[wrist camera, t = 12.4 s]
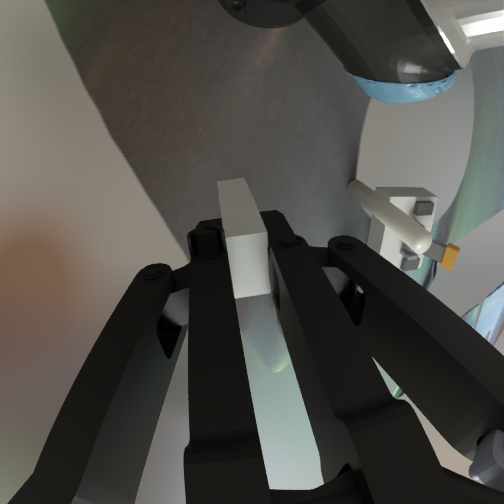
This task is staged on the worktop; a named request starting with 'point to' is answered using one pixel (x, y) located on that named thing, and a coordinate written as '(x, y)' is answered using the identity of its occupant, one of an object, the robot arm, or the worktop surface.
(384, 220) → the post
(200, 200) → the worktop surface
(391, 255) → the panel
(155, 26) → the worktop surface
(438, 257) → the breaker lever
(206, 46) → the worktop surface
